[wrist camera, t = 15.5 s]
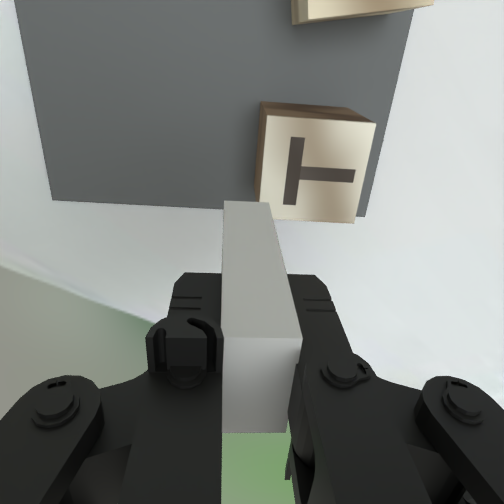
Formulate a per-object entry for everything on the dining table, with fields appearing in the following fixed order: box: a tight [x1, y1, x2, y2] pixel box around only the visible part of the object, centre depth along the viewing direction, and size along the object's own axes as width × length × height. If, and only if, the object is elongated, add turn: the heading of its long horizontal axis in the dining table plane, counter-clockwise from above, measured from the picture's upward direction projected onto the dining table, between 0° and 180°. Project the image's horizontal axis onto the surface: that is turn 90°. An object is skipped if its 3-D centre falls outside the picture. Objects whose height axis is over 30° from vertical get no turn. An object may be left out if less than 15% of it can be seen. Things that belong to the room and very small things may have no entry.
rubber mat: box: [14, 0, 414, 217], centre depth 24 cm, size 24×20×1 cm
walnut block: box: [254, 101, 376, 224], centre depth 24 cm, size 6×6×6 cm
